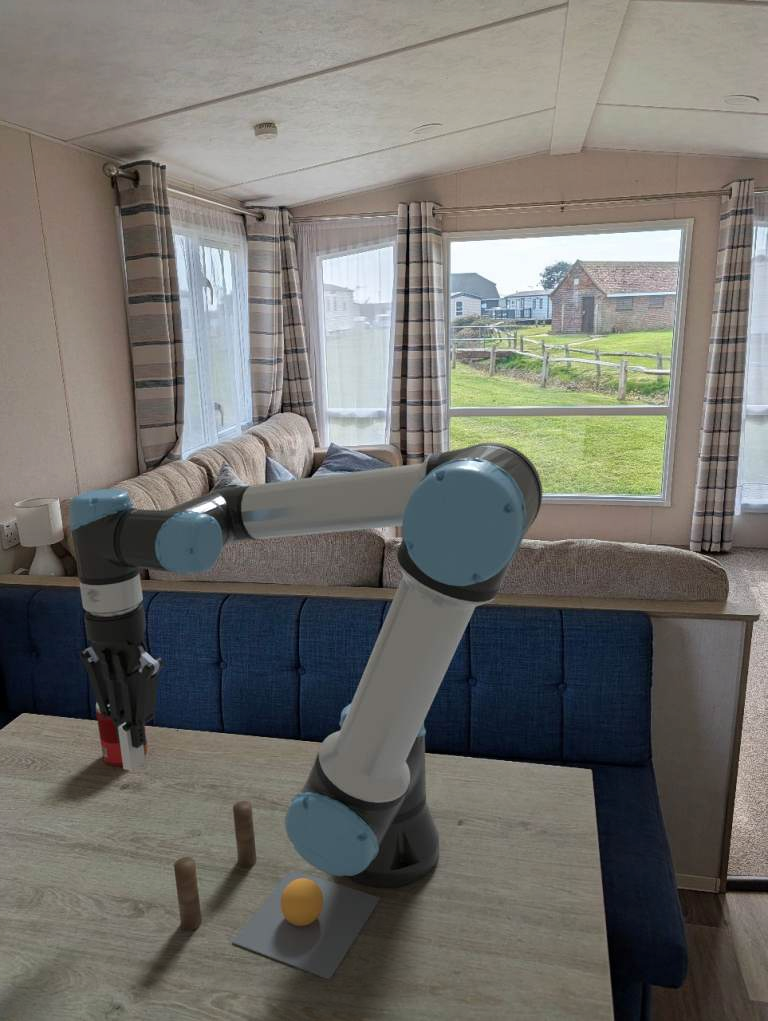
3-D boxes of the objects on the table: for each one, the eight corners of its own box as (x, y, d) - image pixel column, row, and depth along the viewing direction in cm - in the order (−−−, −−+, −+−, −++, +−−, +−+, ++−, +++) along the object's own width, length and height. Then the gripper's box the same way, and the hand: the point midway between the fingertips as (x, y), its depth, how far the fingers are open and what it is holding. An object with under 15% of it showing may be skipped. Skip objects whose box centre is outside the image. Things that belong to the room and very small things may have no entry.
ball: (303, 861, 100) (289, 887, 102) (280, 889, 95) (266, 915, 97) (336, 887, 98) (322, 913, 100) (315, 917, 93) (300, 944, 96)
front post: (205, 918, 99) (199, 860, 97) (193, 933, 97) (185, 873, 95) (189, 912, 100) (183, 854, 98) (177, 926, 98) (169, 867, 96)
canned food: (135, 769, 133) (127, 713, 131) (94, 765, 135) (86, 710, 132) (156, 745, 141) (149, 692, 138) (117, 742, 142) (109, 689, 140)
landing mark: (380, 898, 101) (380, 897, 101) (329, 980, 89) (329, 978, 89) (291, 870, 107) (291, 869, 107) (232, 943, 95) (232, 942, 95)
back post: (259, 857, 110) (255, 803, 108) (249, 868, 108) (244, 814, 106) (245, 852, 111) (240, 799, 109) (234, 864, 109) (229, 809, 107)
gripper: (55, 610, 99) (79, 769, 105) (131, 623, 94) (152, 790, 99) (98, 591, 106) (118, 742, 111) (171, 602, 100) (189, 760, 106)
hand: (134, 764), depth 105 cm, fingers closed
